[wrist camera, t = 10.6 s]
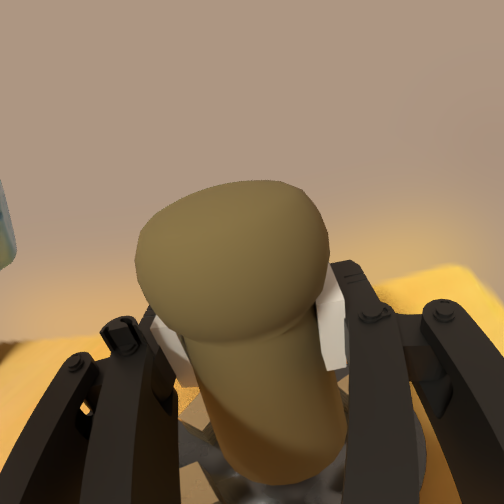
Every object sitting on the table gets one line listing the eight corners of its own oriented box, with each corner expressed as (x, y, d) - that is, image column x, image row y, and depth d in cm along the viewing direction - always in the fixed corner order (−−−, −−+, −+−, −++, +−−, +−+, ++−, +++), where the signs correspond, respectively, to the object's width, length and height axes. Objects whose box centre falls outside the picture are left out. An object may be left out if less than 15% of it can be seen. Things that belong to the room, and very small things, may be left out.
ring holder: (121, 491, 13) (95, 473, 11) (248, 348, 24) (240, 322, 23) (355, 609, 4) (362, 617, 3) (441, 386, 15) (452, 358, 14)
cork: (234, 382, 15) (165, 185, 11) (345, 378, 14) (328, 154, 9) (205, 477, 10) (54, 260, 5) (346, 484, 8) (356, 217, 4)
